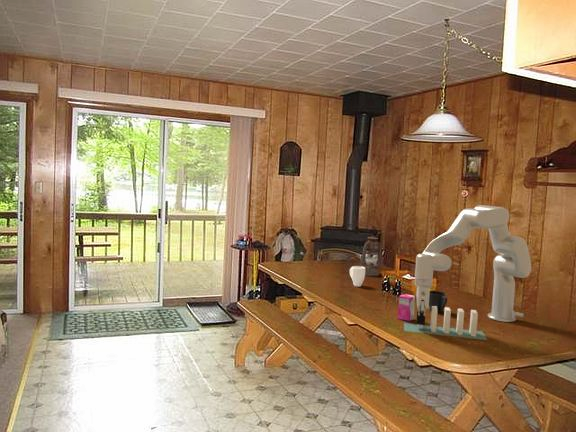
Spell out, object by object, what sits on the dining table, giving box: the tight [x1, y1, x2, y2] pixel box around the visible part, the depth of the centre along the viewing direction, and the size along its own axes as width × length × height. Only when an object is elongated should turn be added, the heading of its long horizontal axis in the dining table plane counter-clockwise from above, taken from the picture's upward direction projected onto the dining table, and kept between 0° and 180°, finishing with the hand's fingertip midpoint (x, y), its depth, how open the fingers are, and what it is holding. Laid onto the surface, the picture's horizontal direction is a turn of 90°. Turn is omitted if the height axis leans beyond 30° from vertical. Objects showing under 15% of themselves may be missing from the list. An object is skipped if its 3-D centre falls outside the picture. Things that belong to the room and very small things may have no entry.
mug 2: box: [349, 265, 366, 288], centre depth 300 cm, size 12×8×11 cm
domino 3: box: [442, 306, 452, 334], centre depth 214 cm, size 2×6×10 cm, turn 167°
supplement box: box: [397, 293, 416, 323], centre depth 231 cm, size 6×6×12 cm
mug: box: [429, 290, 448, 314], centre depth 247 cm, size 8×12×10 cm
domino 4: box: [455, 308, 465, 335], centre depth 213 cm, size 2×6×10 cm, turn 167°
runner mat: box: [403, 322, 488, 341], centre depth 215 cm, size 34×12×1 cm, turn 77°
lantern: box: [360, 223, 382, 277], centre depth 335 cm, size 11×16×35 cm
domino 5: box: [468, 309, 479, 336], centre depth 212 cm, size 2×6×10 cm, turn 167°
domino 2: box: [429, 306, 438, 332], centre depth 215 cm, size 2×6×10 cm, turn 167°
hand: (420, 322), depth 217 cm, fingers closed on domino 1, 5 cm apart
